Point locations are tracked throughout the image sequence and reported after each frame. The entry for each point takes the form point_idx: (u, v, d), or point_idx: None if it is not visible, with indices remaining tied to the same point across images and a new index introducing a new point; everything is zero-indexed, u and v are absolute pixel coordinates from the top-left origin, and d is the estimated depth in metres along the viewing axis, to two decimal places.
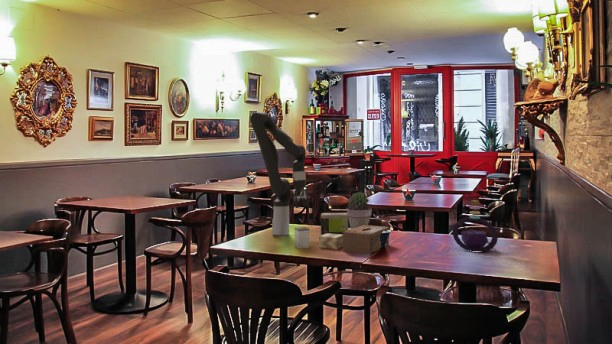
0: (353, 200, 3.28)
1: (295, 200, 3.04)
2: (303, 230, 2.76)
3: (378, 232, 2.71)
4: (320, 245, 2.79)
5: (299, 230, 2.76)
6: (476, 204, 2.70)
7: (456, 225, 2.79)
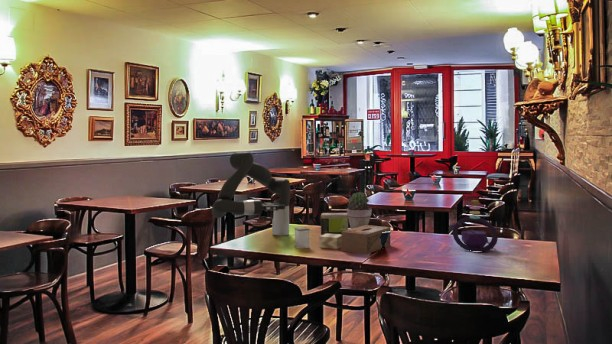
0: (353, 200, 3.28)
1: None
2: (303, 230, 2.76)
3: (377, 232, 2.71)
4: (320, 245, 2.79)
5: (299, 230, 2.76)
6: (476, 204, 2.70)
7: (456, 225, 2.79)
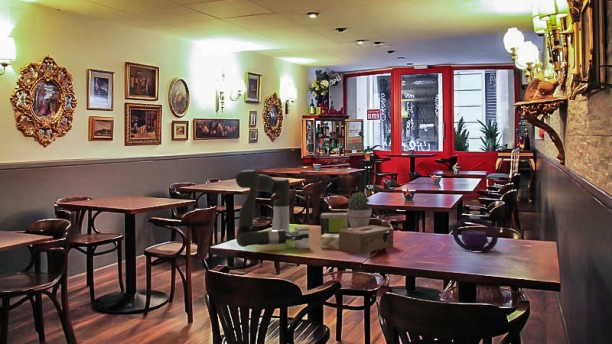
0: (353, 200, 3.28)
1: None
2: (303, 230, 2.76)
3: (375, 233, 2.70)
4: (322, 246, 2.78)
5: (299, 230, 2.76)
6: (476, 204, 2.70)
7: (456, 225, 2.79)
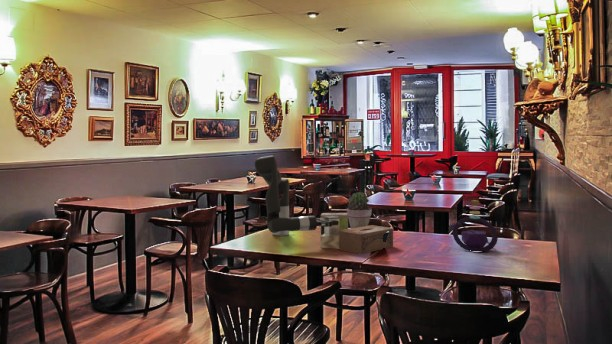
0: (353, 200, 3.28)
1: None
2: (333, 218, 2.78)
3: (375, 233, 2.70)
4: (322, 246, 2.78)
5: (329, 218, 2.77)
6: (476, 204, 2.70)
7: (456, 225, 2.79)
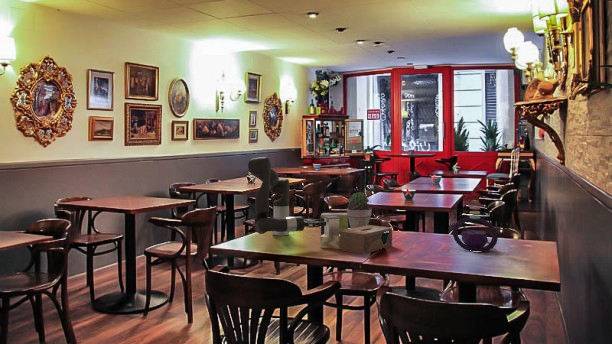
0: (353, 200, 3.28)
1: None
2: (333, 218, 2.78)
3: (376, 232, 2.70)
4: (321, 246, 2.78)
5: (329, 218, 2.77)
6: (476, 204, 2.70)
7: (456, 225, 2.79)
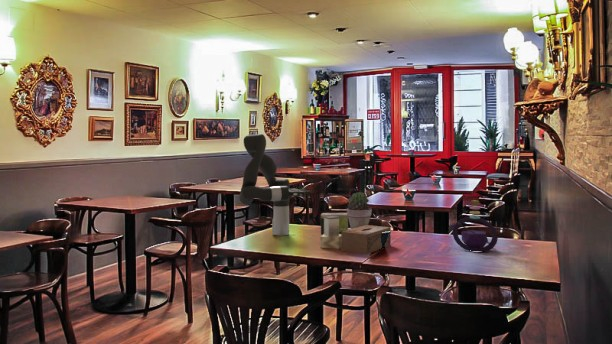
0: (353, 200, 3.28)
1: None
2: (333, 218, 2.78)
3: (377, 232, 2.71)
4: (321, 245, 2.78)
5: (329, 218, 2.77)
6: (476, 204, 2.70)
7: (456, 225, 2.79)
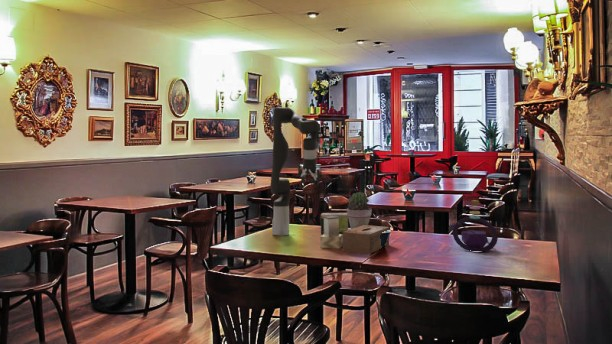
0: (353, 200, 3.28)
1: (299, 174, 2.96)
2: (333, 218, 2.77)
3: (378, 232, 2.71)
4: (321, 245, 2.78)
5: (329, 218, 2.77)
6: (476, 204, 2.70)
7: (456, 225, 2.79)
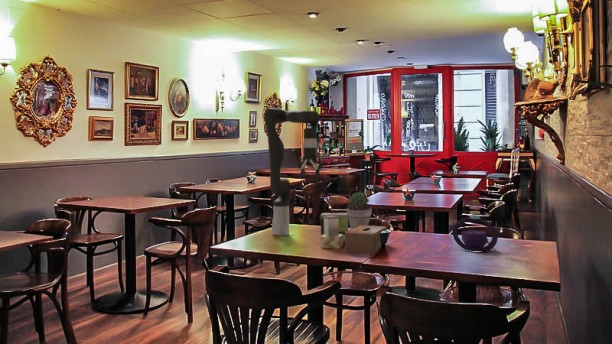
0: (353, 200, 3.28)
1: None
2: (333, 218, 2.78)
3: (379, 232, 2.72)
4: (322, 245, 2.78)
5: (329, 218, 2.77)
6: (476, 204, 2.70)
7: (456, 225, 2.79)
